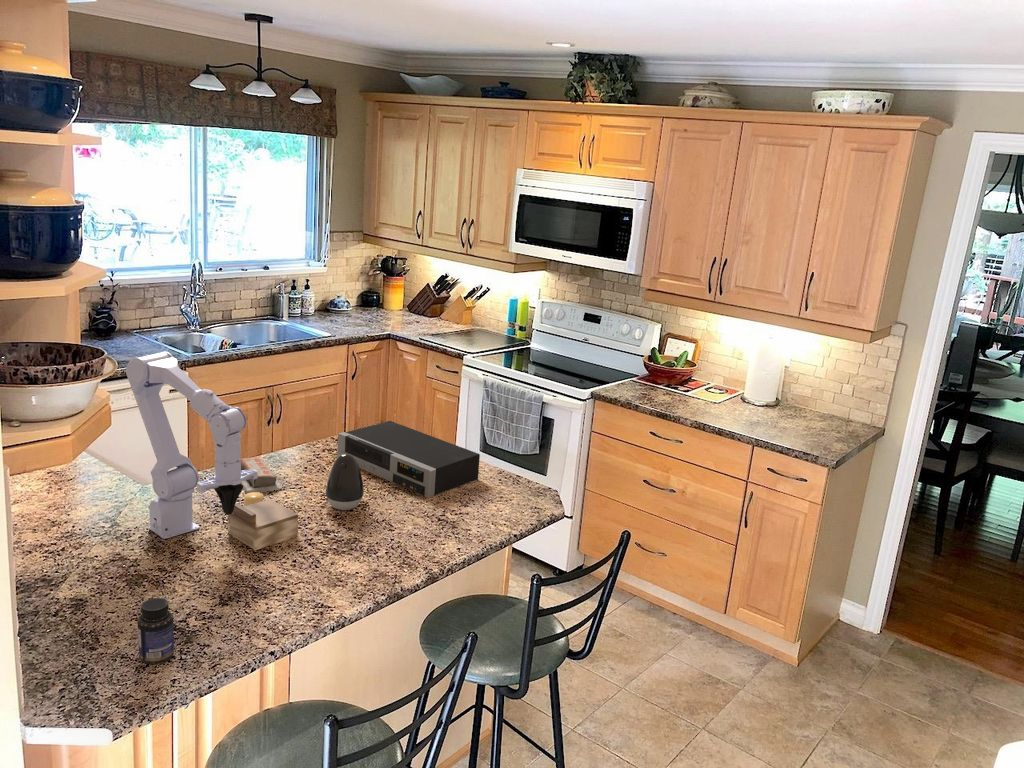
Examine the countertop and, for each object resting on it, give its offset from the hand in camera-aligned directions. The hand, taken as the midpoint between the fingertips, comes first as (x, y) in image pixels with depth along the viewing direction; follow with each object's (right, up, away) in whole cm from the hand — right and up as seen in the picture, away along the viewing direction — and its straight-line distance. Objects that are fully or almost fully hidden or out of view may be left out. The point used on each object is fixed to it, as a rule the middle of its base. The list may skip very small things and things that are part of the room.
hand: (228, 512), depth 199 cm
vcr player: (+34, +4, +59) cm, 68 cm away
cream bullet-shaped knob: (0, -3, +20) cm, 21 cm away
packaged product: (-6, +2, +41) cm, 42 cm away
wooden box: (+6, -7, +9) cm, 13 cm away
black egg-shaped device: (+22, -3, +29) cm, 37 cm away
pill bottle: (+1, -21, -42) cm, 47 cm away
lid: (+6, -2, +8) cm, 10 cm away
